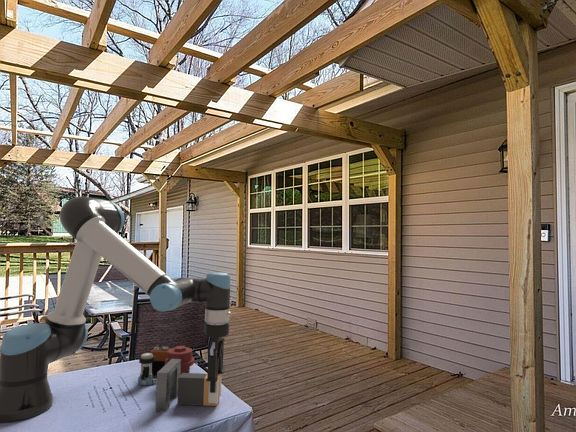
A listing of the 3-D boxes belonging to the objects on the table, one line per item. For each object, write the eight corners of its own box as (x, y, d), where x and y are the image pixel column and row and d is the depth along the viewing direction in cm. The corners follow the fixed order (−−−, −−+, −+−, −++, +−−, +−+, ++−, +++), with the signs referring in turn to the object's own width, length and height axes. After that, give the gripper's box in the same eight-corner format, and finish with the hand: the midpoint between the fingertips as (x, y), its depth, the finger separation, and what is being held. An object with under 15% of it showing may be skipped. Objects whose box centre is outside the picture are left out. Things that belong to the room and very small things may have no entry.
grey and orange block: (177, 404, 112) (178, 377, 113) (181, 398, 116) (182, 372, 117) (216, 405, 112) (217, 378, 112) (219, 400, 116) (220, 374, 116)
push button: (159, 381, 131) (160, 352, 132) (154, 386, 126) (156, 356, 126) (140, 380, 131) (141, 352, 131) (135, 386, 125) (136, 356, 126)
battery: (166, 377, 135) (168, 349, 135) (148, 376, 135) (149, 348, 136) (171, 372, 139) (172, 345, 140) (153, 372, 139) (154, 345, 140)
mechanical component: (198, 379, 133) (185, 390, 123) (173, 376, 135) (158, 387, 125) (199, 344, 134) (186, 352, 124) (174, 342, 136) (159, 350, 126)
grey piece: (155, 411, 108) (157, 372, 109) (170, 393, 121) (172, 358, 122) (165, 411, 108) (167, 373, 109) (179, 393, 121) (181, 359, 122)
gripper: (223, 329, 107) (221, 412, 105) (233, 317, 124) (231, 388, 122) (197, 328, 107) (195, 411, 106) (211, 316, 124) (209, 387, 123)
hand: (214, 398), depth 114 cm, fingers closed on grey and orange block, 4 cm apart
